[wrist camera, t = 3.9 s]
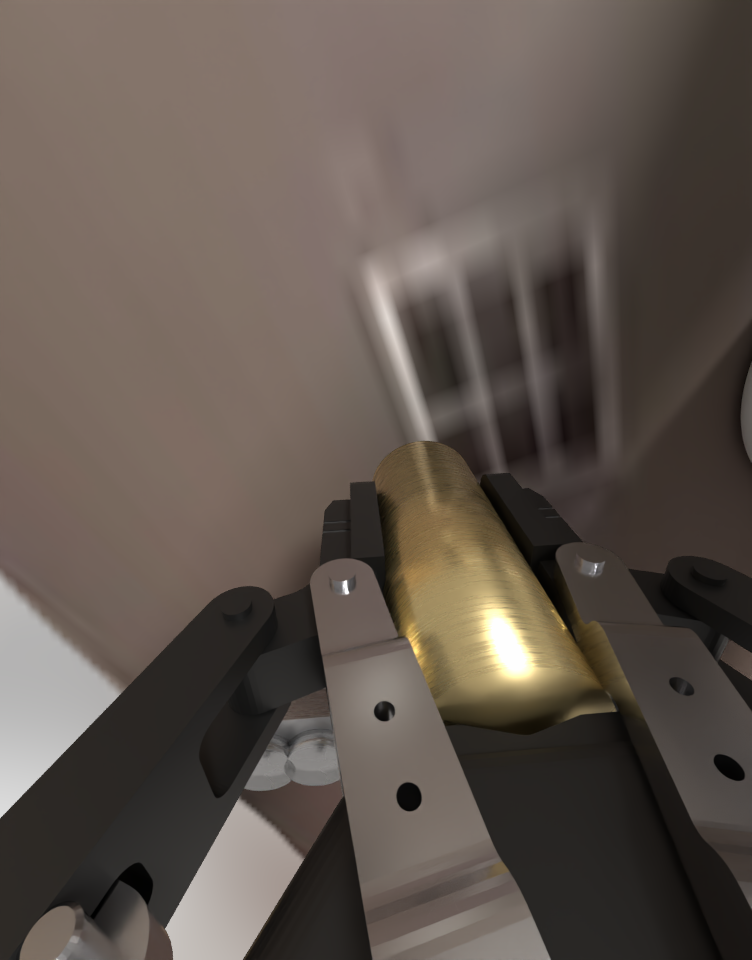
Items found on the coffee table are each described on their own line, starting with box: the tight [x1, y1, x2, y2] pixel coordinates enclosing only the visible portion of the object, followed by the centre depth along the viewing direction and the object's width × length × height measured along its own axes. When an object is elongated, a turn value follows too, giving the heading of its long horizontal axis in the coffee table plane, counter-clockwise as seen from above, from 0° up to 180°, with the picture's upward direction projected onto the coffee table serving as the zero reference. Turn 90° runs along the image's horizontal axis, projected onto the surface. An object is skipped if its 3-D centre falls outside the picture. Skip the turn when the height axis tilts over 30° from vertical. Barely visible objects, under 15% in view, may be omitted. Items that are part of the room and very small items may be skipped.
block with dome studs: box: [244, 688, 340, 791], centre depth 21 cm, size 17×7×4 cm, turn 91°
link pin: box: [372, 441, 616, 735], centre depth 10 cm, size 3×3×8 cm
